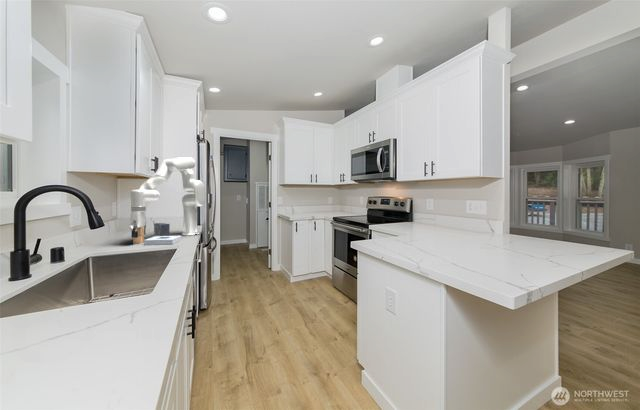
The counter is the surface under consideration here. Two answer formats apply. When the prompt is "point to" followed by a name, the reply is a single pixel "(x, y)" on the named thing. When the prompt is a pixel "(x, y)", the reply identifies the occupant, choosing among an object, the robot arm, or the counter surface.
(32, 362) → the counter surface
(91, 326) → the counter surface
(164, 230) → the small box
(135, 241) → the peg
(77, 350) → the counter surface
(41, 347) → the counter surface
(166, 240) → the socket
